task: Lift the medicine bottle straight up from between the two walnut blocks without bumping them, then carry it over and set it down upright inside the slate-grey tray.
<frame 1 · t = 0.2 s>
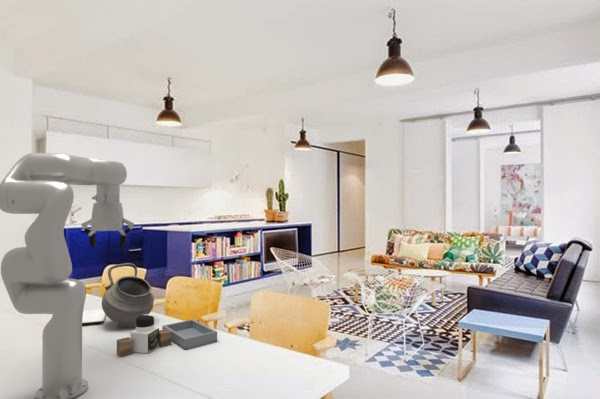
hand: (108, 246, 144), 37 cm above the table, tool pointing down, fingers open, 9 cm apart
plate: (81, 321, 176), on the table
tray: (189, 338, 155), on the table
pot: (128, 324, 172), on the table
right walnut block: (163, 344, 148), on the table
medicine bottle: (144, 349, 144), on the table
left walnut block: (124, 354, 139), on the table
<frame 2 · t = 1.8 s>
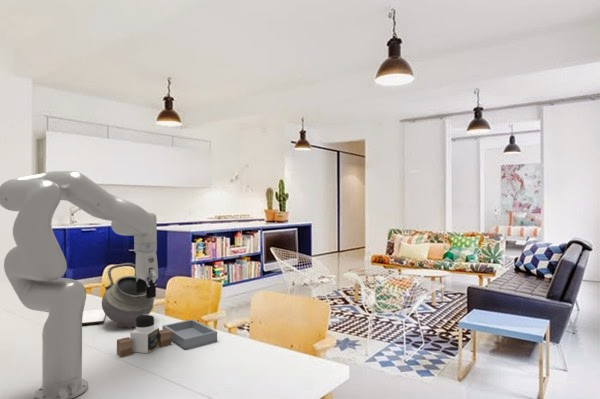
hand: (145, 294, 144), 19 cm above the table, tool pointing down, fingers open, 9 cm apart
nothing on the table moved.
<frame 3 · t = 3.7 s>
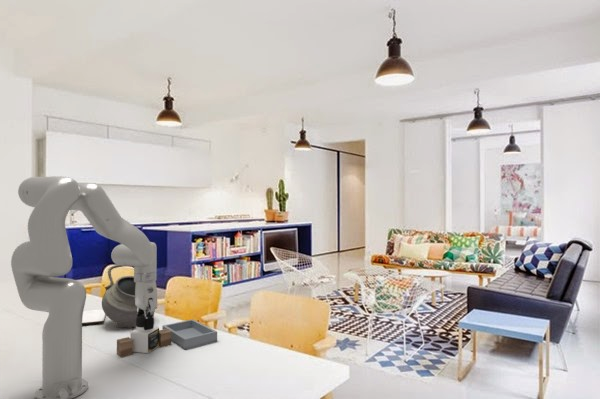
hand: (145, 326, 144), 8 cm above the table, tool pointing down, fingers closed on medicine bottle, 6 cm apart
medicine bottle: (145, 349, 144), on the table, touching gripper
everything else where it was.
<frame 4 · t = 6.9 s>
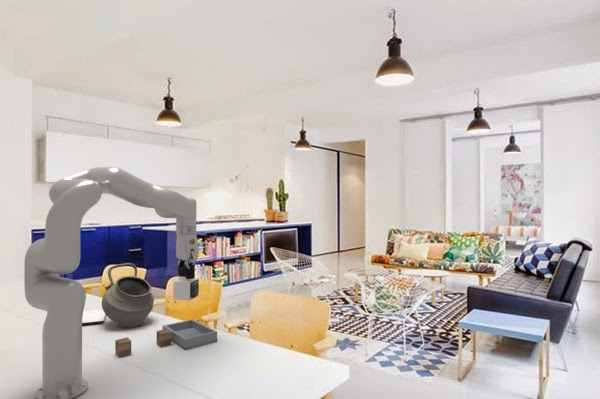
hand: (186, 276, 154), 24 cm above the table, tool pointing down, fingers closed on medicine bottle, 6 cm apart
medicine bottle: (186, 298, 154), point 16 cm above the table, touching gripper
everything else where it was.
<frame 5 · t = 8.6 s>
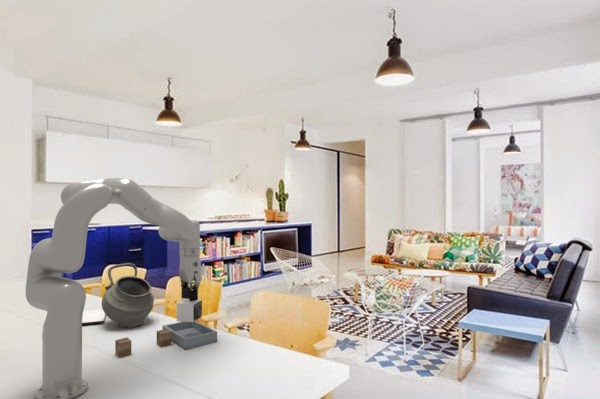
hand: (189, 298, 155), 15 cm above the table, tool pointing down, fingers closed on medicine bottle, 6 cm apart
medicine bottle: (189, 319, 155), point 7 cm above the table, touching gripper
everything else where it was.
when the fingers open (10 cm above the table, at t = 10.1 s): medicine bottle stays where it is, resting on tray.
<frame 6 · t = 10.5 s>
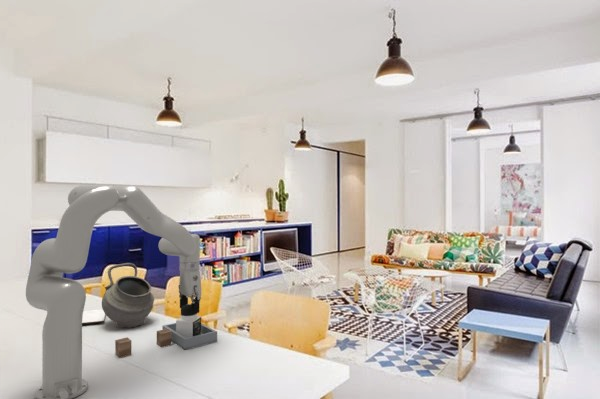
hand: (189, 310, 155), 11 cm above the table, tool pointing down, fingers open, 9 cm apart
medicine bottle: (188, 336, 155), point 1 cm above the table, touching tray
everything else where it was.
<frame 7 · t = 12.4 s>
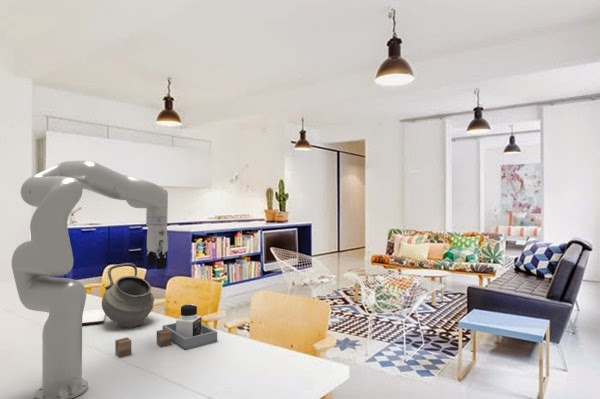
hand: (155, 267, 151), 28 cm above the table, tool pointing down, fingers open, 9 cm apart
nothing on the table moved.
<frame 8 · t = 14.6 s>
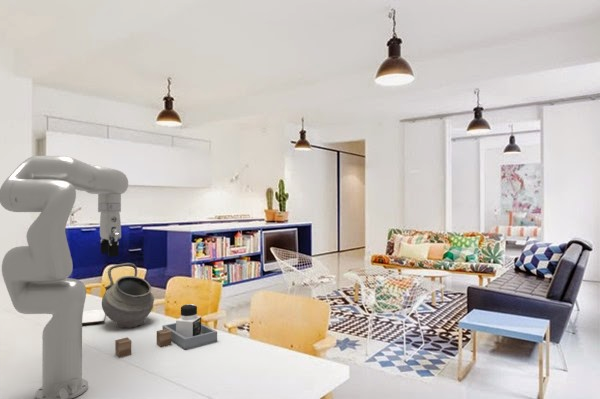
hand: (109, 255, 146), 33 cm above the table, tool pointing down, fingers open, 9 cm apart
nothing on the table moved.
at the end: medicine bottle inside the target area on the tray (0.2 cm from its centre), point 0.6 cm above the tray's base; left walnut block moved 0.5 cm from its start; right walnut block moved 0.1 cm from its start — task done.
